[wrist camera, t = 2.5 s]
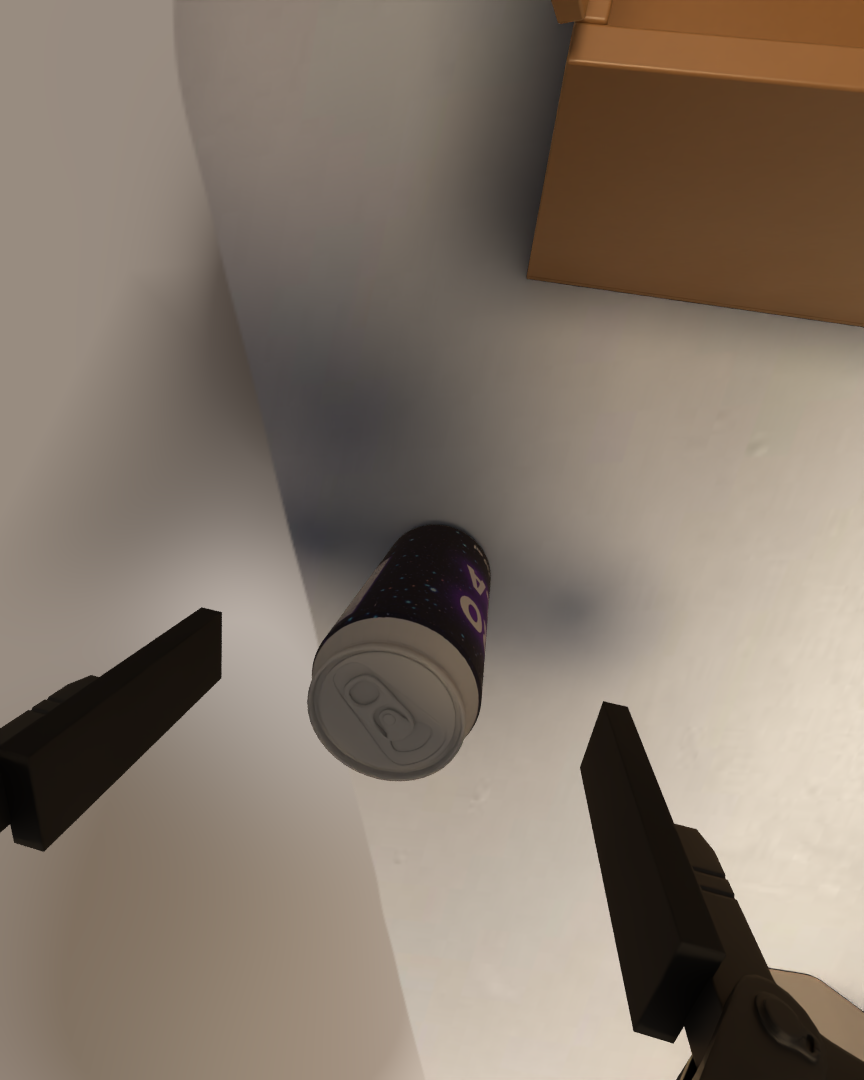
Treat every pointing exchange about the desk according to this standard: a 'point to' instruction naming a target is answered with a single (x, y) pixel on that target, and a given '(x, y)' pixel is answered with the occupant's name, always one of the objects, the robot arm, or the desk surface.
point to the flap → (570, 10)
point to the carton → (711, 156)
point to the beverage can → (406, 659)
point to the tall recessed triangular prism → (826, 1010)
